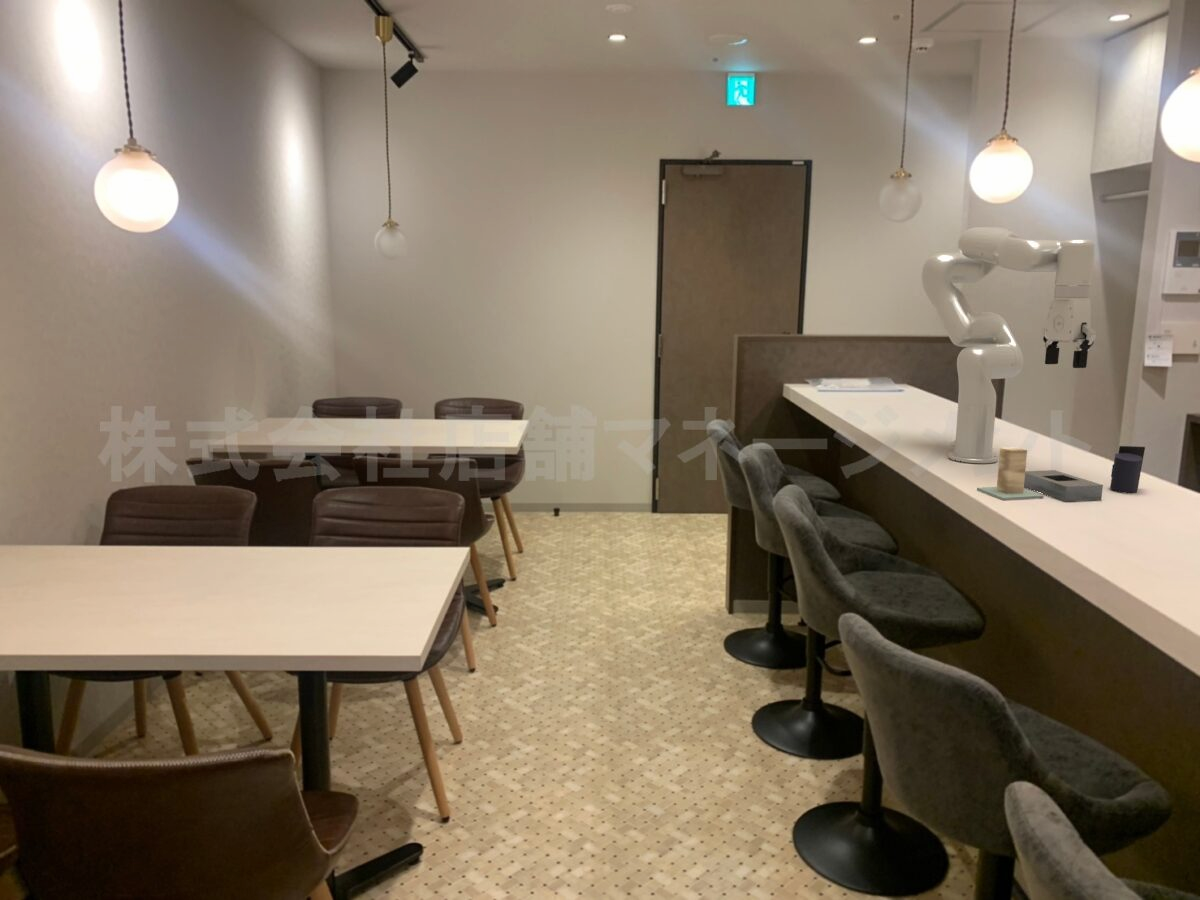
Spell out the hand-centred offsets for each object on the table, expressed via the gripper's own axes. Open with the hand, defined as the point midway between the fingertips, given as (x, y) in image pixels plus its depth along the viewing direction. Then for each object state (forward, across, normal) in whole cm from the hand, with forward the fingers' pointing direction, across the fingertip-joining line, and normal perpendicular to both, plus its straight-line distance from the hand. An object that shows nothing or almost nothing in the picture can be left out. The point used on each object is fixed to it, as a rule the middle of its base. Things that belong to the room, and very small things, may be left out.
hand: (1065, 365), depth 209 cm
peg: (+28, +10, -19) cm, 35 cm away
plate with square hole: (+28, +11, -7) cm, 31 cm away
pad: (+28, +10, -19) cm, 36 cm away
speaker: (+28, +12, +10) cm, 32 cm away
